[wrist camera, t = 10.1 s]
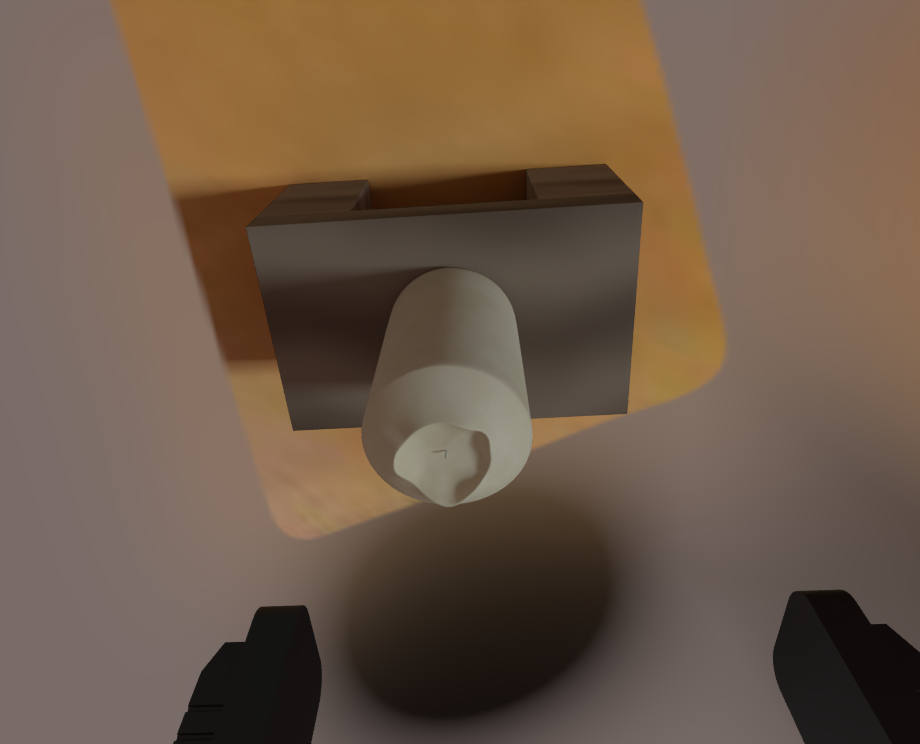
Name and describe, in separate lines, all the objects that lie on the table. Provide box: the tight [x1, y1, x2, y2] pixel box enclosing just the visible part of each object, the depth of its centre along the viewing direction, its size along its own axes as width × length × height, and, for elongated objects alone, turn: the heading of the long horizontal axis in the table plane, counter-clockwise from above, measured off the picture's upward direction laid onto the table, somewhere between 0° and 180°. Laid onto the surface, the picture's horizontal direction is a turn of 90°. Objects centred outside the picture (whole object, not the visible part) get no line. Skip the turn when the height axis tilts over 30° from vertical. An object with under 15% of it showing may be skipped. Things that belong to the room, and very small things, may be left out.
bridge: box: [246, 164, 643, 431], centre depth 31 cm, size 10×16×8 cm, turn 94°
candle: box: [362, 268, 533, 507], centre depth 24 cm, size 6×6×10 cm
